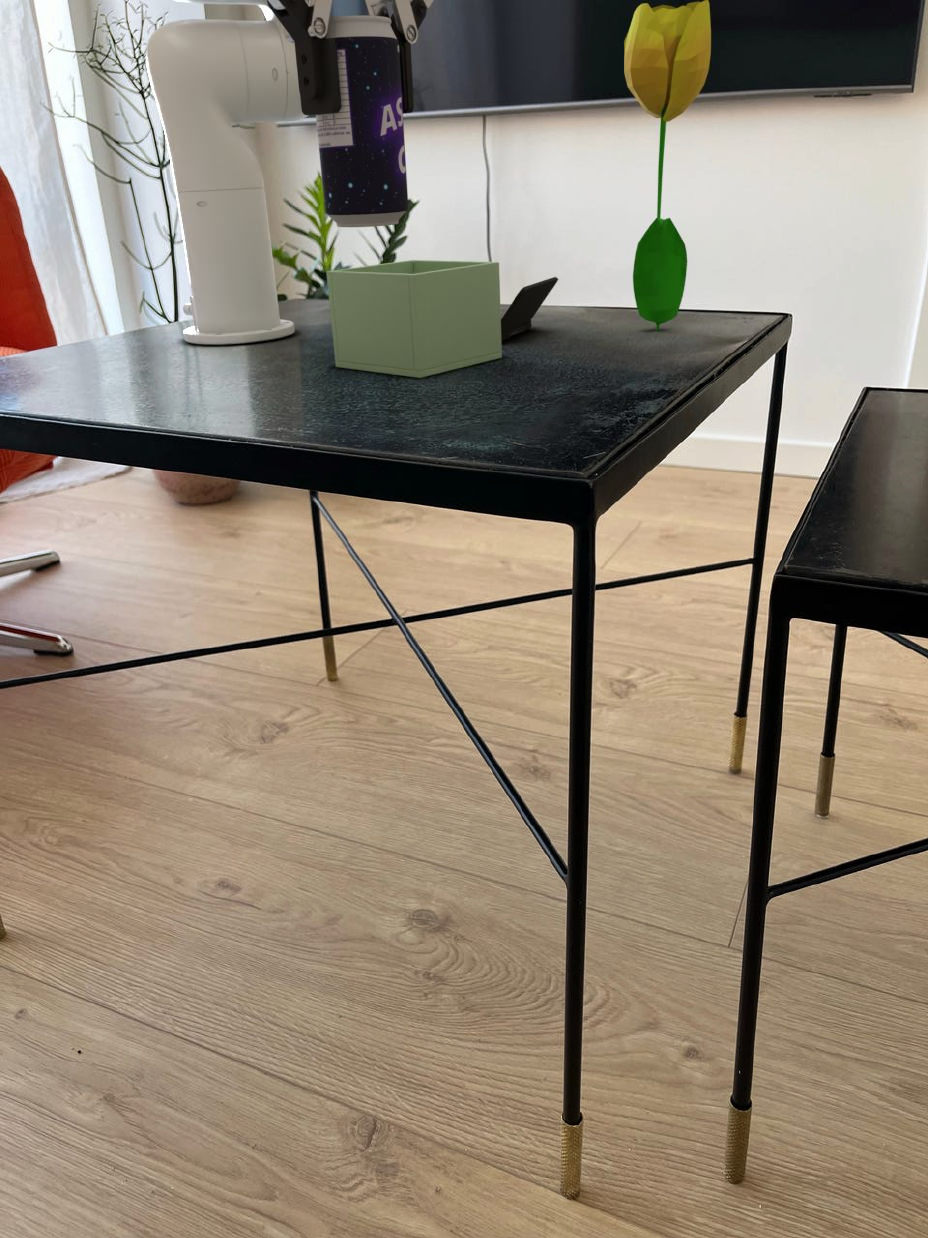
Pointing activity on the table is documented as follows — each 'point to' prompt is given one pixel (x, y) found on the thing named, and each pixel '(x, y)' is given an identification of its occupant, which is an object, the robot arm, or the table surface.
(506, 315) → the black tablet stand
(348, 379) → the table surface
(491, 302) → the pale green square box
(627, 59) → the flower
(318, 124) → the beverage can
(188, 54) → the robot arm
